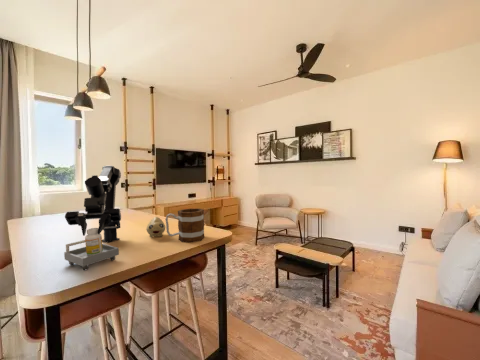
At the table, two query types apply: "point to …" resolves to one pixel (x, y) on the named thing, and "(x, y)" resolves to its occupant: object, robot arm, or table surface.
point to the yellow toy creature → (155, 227)
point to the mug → (189, 225)
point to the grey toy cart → (84, 260)
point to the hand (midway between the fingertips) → (91, 234)
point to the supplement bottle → (93, 242)
